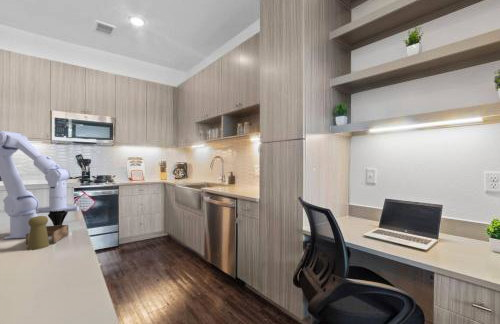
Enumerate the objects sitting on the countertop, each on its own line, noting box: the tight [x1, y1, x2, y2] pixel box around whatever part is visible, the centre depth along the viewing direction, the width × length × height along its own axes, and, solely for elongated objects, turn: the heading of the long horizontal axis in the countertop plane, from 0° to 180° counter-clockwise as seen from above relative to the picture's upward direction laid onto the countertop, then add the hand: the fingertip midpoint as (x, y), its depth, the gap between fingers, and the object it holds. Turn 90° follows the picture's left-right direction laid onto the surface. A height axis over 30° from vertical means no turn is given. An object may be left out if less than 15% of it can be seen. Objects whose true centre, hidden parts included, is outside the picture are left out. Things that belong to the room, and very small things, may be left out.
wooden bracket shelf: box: [25, 224, 69, 246], centre depth 91 cm, size 11×9×4 cm
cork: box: [26, 215, 50, 251], centre depth 85 cm, size 6×6×11 cm
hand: (58, 229), depth 98 cm, fingers closed, pressing on wooden bracket shelf
